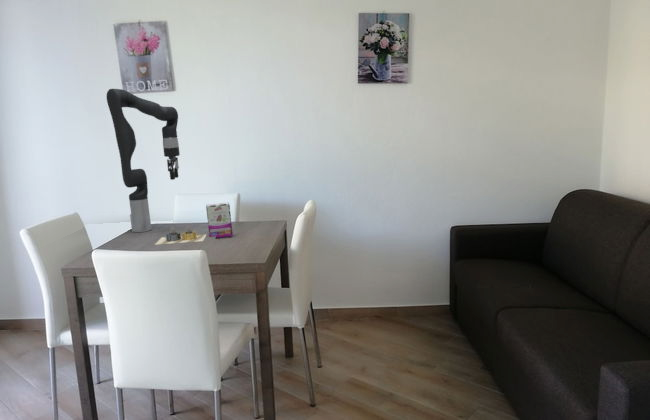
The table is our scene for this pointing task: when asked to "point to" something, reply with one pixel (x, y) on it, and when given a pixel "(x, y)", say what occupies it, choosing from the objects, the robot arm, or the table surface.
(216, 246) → the table surface
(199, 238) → the gear board
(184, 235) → the brass gear
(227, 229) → the candy bar box
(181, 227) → the table surface
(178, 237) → the silver gear
